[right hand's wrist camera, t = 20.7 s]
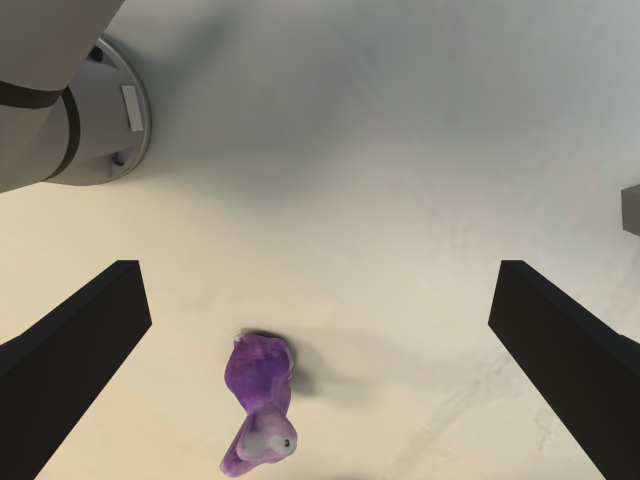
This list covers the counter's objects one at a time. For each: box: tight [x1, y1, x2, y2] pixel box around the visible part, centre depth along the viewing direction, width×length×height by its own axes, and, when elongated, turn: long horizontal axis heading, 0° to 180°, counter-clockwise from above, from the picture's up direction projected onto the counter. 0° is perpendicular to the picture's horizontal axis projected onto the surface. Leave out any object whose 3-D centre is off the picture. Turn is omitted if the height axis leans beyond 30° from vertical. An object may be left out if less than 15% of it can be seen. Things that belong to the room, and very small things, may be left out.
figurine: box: [220, 333, 297, 477], centre depth 40 cm, size 9×10×15 cm
